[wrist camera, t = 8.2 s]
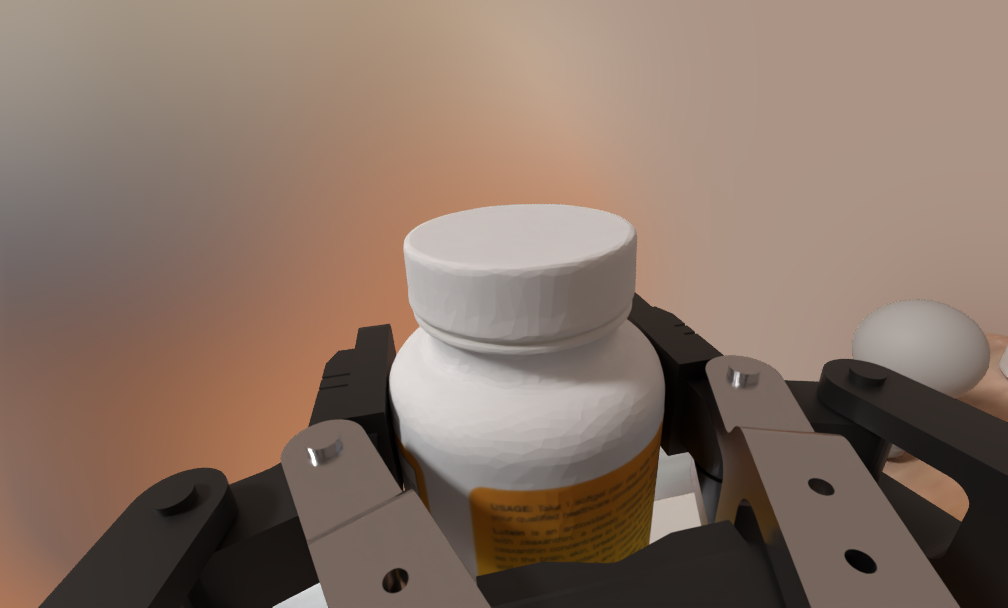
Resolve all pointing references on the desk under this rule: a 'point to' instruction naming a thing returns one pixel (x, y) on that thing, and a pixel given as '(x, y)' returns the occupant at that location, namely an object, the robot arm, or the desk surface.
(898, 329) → the lightbulb
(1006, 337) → the desk surface
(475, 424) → the supplement bottle
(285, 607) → the desk surface
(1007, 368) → the eye dropper bottle
